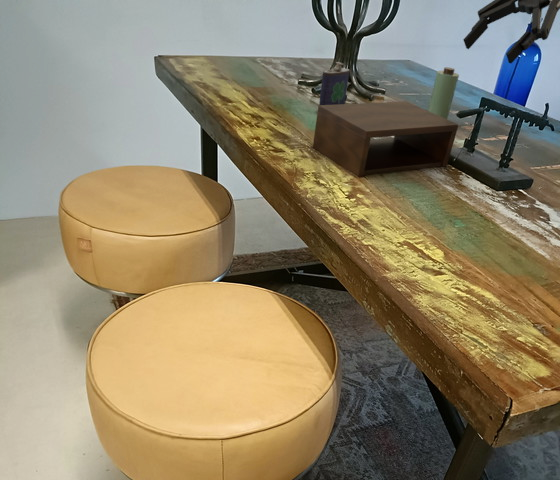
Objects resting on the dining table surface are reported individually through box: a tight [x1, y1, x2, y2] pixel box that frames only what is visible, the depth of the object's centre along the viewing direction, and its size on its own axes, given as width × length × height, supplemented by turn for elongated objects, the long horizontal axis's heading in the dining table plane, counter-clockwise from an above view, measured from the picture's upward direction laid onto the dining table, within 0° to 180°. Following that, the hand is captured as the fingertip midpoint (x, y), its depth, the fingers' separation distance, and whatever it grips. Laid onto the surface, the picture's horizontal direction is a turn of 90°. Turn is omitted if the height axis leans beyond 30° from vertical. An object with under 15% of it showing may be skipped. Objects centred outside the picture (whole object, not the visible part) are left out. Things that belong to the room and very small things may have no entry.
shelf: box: [312, 100, 459, 178], centre depth 111 cm, size 16×22×8 cm
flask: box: [318, 61, 351, 105], centre depth 133 cm, size 9×3×11 cm, turn 140°
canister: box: [427, 67, 460, 120], centre depth 134 cm, size 5×5×12 cm
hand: (486, 51), depth 132 cm, fingers open, 13 cm apart
